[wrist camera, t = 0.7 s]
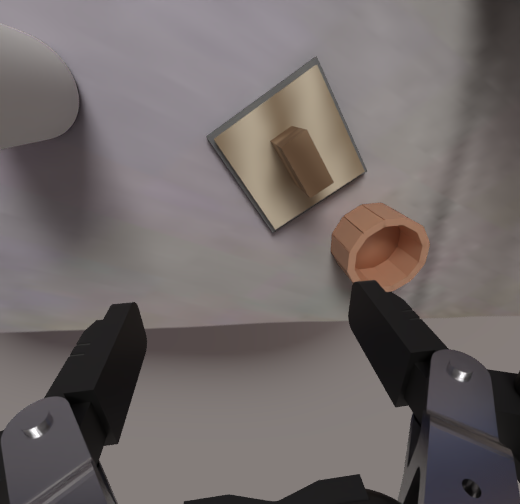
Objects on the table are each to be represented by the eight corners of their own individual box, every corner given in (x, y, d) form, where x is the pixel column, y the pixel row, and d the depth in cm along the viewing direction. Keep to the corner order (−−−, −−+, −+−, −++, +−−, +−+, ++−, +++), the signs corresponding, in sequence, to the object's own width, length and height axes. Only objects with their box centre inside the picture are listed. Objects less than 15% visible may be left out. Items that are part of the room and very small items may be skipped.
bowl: (387, 188, 33) (414, 201, 28) (411, 246, 37) (438, 265, 32) (318, 231, 34) (334, 250, 30) (349, 282, 38) (367, 306, 34)
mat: (313, 57, 26) (316, 56, 26) (363, 169, 32) (367, 171, 31) (206, 136, 28) (206, 137, 27) (271, 230, 33) (272, 232, 33)
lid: (314, 65, 26) (339, 55, 21) (361, 170, 31) (390, 182, 26) (214, 138, 27) (213, 146, 22) (274, 226, 32) (285, 249, 27)
